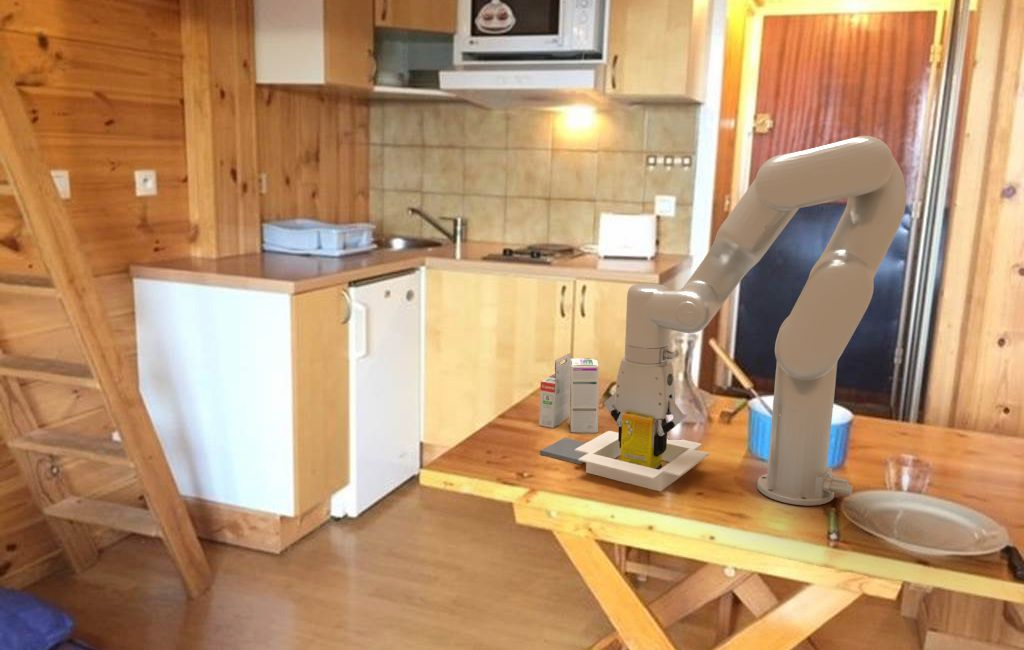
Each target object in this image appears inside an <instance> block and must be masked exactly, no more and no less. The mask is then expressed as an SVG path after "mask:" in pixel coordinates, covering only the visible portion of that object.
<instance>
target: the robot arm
mask: <svg viewBox="0 0 1024 650" xmlns="http://www.w3.org/2000/svg"><path fill="white" fill-rule="evenodd" d="M843 199H847V202H846V205H845V206H846V207H845V208H844V211H843V213H842V215H841V217H840V219H839V221H838V223H837V225H836V227H835V230H834V231H833V234H832V236H831V237H830V240H829V241H828V243H827V245H826V247H825V248H824V251H823V252H822V253H821V255H820V257H819V259H818V260H817V261H816V262H815V264H814V265H813V267H812V268H811V270H810V273H809V275H808V278H807V280H806V283H805V285H804V286H803V288H802V290H801V293H800V295H799V296H798V298H797V300H796V302H795V304H794V306H793V307H792V310H791V312H790V314H789V315H788V316H787V317H786V318H785V319H784V320H783V322H782V323H781V325H780V327H779V330H778V333H777V336H776V339H775V343H774V344H775V345H774V354H775V355H774V356H775V360H776V367H775V368H776V369H775V377H774V378H775V379H774V391H773V400H772V402H773V403H772V411H771V423H770V427H771V428H770V436H769V437H770V440H769V452H768V463H767V473H764V474H763V475H761V476H759V477H758V478H757V487H756V488H757V490H758V491H759V492H760V493H761V494H763V495H764V496H765V497H768V498H769V499H771V500H774V501H777V502H781V503H784V504H790V505H796V506H821V505H825V504H827V503H830V502H831V501H833V499H834V498H835V493H836V494H838V495H840V496H841V495H842V496H846V497H851V496H852V493H853V489H854V486H853V484H849V479H843V478H837V477H835V475H832V472H833V468H832V467H829V466H828V464H829V463H828V462H829V452H830V442H831V430H832V422H833V421H832V420H833V410H834V409H833V408H834V402H835V391H836V390H835V389H836V382H837V380H836V379H837V369H838V361H839V359H840V357H841V356H842V354H843V353H844V351H845V349H846V347H847V346H848V344H849V342H850V340H851V338H852V336H854V333H855V331H856V329H857V328H858V326H859V324H860V322H861V321H862V319H863V317H864V315H865V314H866V312H867V310H868V308H869V305H870V303H871V300H872V298H873V295H874V286H875V285H874V278H875V276H876V274H877V272H878V270H879V268H880V266H881V264H882V262H883V260H884V258H885V257H886V255H887V253H888V250H889V249H890V246H891V244H892V242H893V241H894V238H895V237H896V234H897V232H898V231H899V228H900V226H901V223H902V220H903V218H904V216H905V215H904V214H905V211H906V203H907V189H906V182H905V178H904V175H903V171H902V170H901V168H900V165H899V163H898V162H897V160H896V159H895V157H894V156H893V153H892V150H891V149H890V147H889V146H888V145H887V143H885V142H884V141H883V140H881V139H879V138H877V137H875V136H870V135H859V136H855V137H851V138H847V139H843V140H839V141H836V142H831V143H828V144H824V145H819V146H817V147H813V148H808V149H804V150H799V151H795V152H794V151H793V152H790V153H785V154H784V153H783V154H778V155H775V156H772V157H771V158H769V159H768V160H766V161H765V162H764V163H762V165H761V166H760V168H758V171H757V173H756V176H755V178H754V180H753V181H752V183H751V184H750V186H748V188H747V189H746V191H745V193H743V195H742V197H741V198H740V199H739V201H738V202H737V204H736V205H735V206H734V207H733V209H732V210H731V212H730V213H729V214H728V216H727V217H726V218H725V220H724V221H723V223H721V226H719V229H718V230H717V233H716V235H715V238H714V241H713V244H712V245H711V247H710V249H709V250H708V252H707V254H706V255H705V257H704V258H703V259H702V260H701V262H700V264H699V265H698V266H697V268H696V269H695V271H694V272H693V273H692V275H691V276H690V278H689V279H688V280H687V281H686V283H685V284H684V286H683V287H681V288H680V289H677V290H671V289H669V288H668V287H667V286H665V285H662V284H659V283H658V284H657V283H637V284H632V285H631V286H630V287H628V290H627V293H626V294H627V296H626V314H625V315H626V317H625V341H624V357H623V358H621V361H620V364H619V367H618V368H619V369H618V373H617V377H616V385H615V393H613V394H612V395H611V396H609V398H607V399H606V400H605V401H604V402H603V404H604V407H606V409H607V411H608V412H609V413H610V416H611V417H612V418H613V420H614V421H615V424H616V426H617V428H618V433H619V436H618V441H619V442H620V448H621V437H622V414H623V413H631V414H636V415H641V416H646V417H650V418H653V419H654V420H655V427H656V430H657V434H656V435H655V436H654V456H656V457H658V456H659V455H661V454H662V453H664V451H665V450H666V446H667V436H668V433H669V432H671V431H672V430H673V429H674V428H675V427H677V425H680V424H681V423H682V422H683V421H684V420H685V419H686V416H685V414H684V413H683V411H682V410H681V409H680V408H679V406H678V405H677V403H676V385H675V383H676V382H675V375H674V369H673V364H672V361H671V362H670V361H669V360H674V359H675V356H676V353H675V351H671V350H670V346H669V334H670V331H674V332H675V331H676V332H677V333H678V332H680V333H685V334H694V333H696V334H697V333H698V332H700V331H703V330H704V329H705V328H706V327H707V326H708V325H709V324H710V322H711V321H712V320H713V318H714V317H715V316H716V315H717V313H718V312H719V310H720V309H721V308H722V306H723V304H725V302H726V301H727V299H728V298H729V297H730V295H731V294H732V293H733V291H734V290H735V289H736V288H737V286H738V285H739V284H740V282H741V281H742V280H743V278H744V277H745V276H746V275H747V274H748V273H749V271H750V270H751V269H752V268H753V267H754V266H756V265H757V264H758V263H759V262H760V261H761V260H762V258H763V257H764V255H765V254H766V253H767V252H768V251H769V249H770V248H771V246H772V245H773V244H774V242H775V241H776V240H777V239H778V237H779V235H781V233H782V232H783V230H784V229H785V228H786V227H787V225H788V224H789V222H790V221H791V220H792V219H793V217H794V216H795V214H796V213H797V212H798V211H799V209H801V208H806V207H812V206H817V205H821V204H825V203H827V204H828V203H830V202H835V201H838V200H843ZM670 415H672V416H673V417H672V419H671V420H670V421H669V420H668V418H667V416H670Z"/></svg>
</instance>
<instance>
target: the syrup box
mask: <svg viewBox="0 0 1024 650" xmlns="http://www.w3.org/2000/svg"><path fill="white" fill-rule="evenodd" d="M599 366H600V365H599V363H598V359H596V358H590V357H579V358H578V357H577V358H571V368H570V404H569V429H570V433H575V434H576V433H577V434H598V429H599V394H600V393H599V392H600V391H599V390H600V389H599V388H600V387H599V384H600V383H599V382H600V381H599V380H600V379H599V378H600V377H599V376H600V375H599V372H600V371H599V370H600V367H599Z"/></svg>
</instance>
